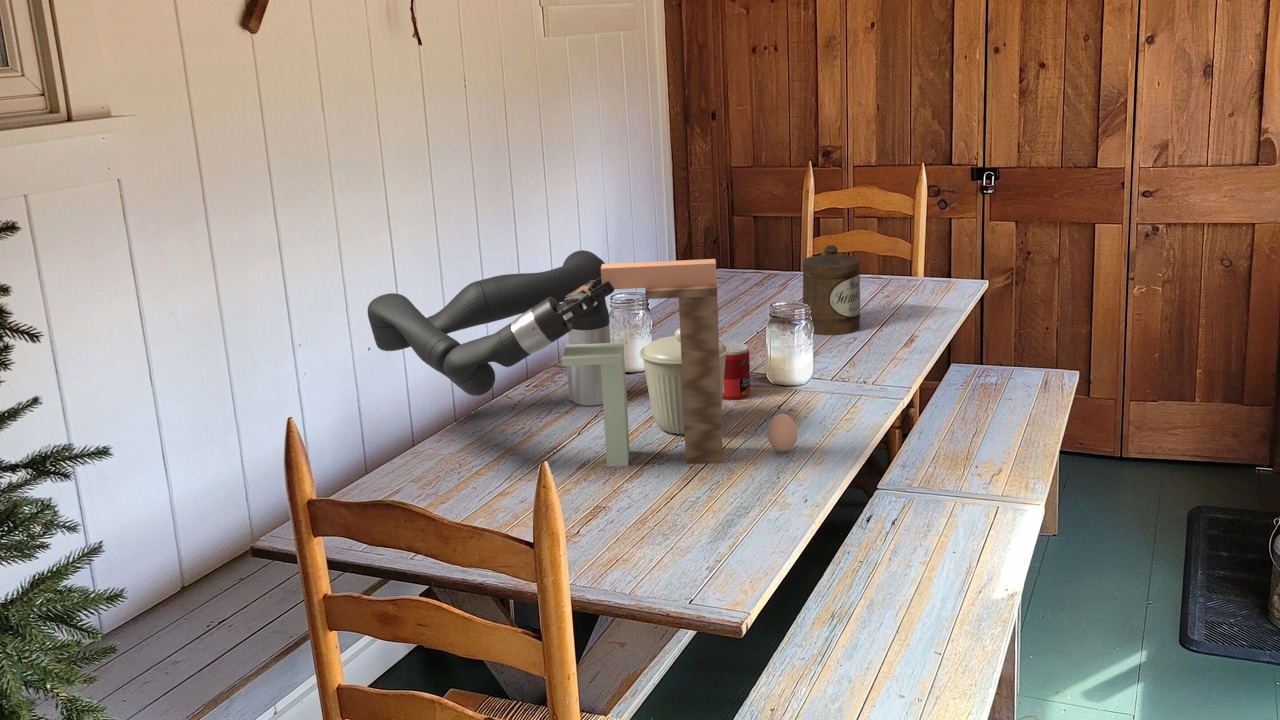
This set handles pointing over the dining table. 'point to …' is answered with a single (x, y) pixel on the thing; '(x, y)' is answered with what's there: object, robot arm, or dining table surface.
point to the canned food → (736, 372)
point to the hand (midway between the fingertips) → (613, 280)
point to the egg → (782, 433)
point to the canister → (670, 380)
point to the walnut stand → (699, 369)
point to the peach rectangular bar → (660, 274)
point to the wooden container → (832, 292)
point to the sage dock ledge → (608, 394)
